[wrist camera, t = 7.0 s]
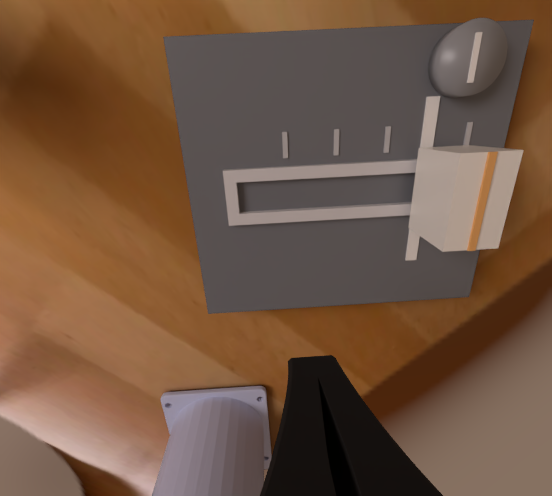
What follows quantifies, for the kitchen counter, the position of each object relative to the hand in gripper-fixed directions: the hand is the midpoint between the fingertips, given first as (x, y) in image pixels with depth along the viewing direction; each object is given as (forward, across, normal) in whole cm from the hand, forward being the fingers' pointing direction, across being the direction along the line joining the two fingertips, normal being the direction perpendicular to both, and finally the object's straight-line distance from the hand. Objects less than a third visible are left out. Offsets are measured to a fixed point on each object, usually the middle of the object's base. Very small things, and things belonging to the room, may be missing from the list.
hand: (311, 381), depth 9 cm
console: (+10, -3, -4) cm, 12 cm away
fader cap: (+8, -7, -4) cm, 12 cm away
